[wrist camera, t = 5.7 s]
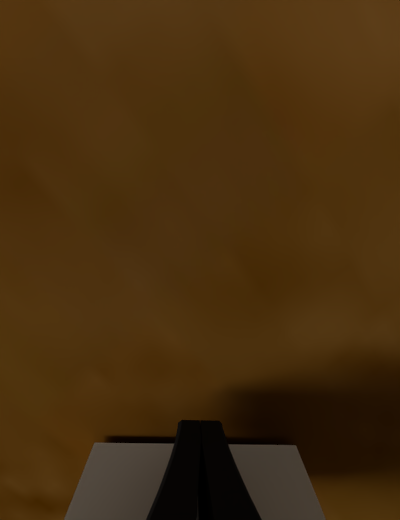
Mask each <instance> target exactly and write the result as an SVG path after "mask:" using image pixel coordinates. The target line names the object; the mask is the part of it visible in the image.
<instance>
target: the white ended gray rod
mask: <svg viewBox="0 0 400 520" xmlns="http://www.w3.org/2000/svg"><path fill="white" fill-rule="evenodd" d="M228 445H229V448H230V451H231V453H232V456H233V458H234V461H235V463H236V466H237V468H238V470H239V473H240V475H241V477H242V479H243V482H244V484H245V486H246V488H247V490H248V493H249V495H250V497H251V499H252V501H253V503H254V505H255V507H256V509H257V511H258V513H259V515H260V517H261V519H262V520H326V519H325V516H324V514H323V511H322V509H321V506H320V504H319V501H318V499H317V496H316V494H315V492H314V489H313V487H312V484H311V482H310V479H309V477H308V474H307V472H306V469H305V467H304V464H303V462H302V459H301V457H300V454H299V452H298V449H297V447H296V445H240V444H228ZM173 446H174V444H158V443H94V445H93V448H92V450H91V453H90V455H89V458H88V461H87V463H86V466H85V468H84V471H83V473H82V476H81V478H80V481H79V483H78V486H77V488H76V491H75V494H74V496H73V499H72V501H71V504H70V506H69V509H68V511H67V514H66V516H65V519H64V520H146V518H147V516H148V514H149V511H150V509H151V506H152V504H153V502H154V499H155V497H156V495H157V492H158V490H159V487H160V484H161V482H162V479H163V476H164V473H165V470H166V468H167V465H168V462H169V459H170V456H171V453H172V449H173ZM196 520H199V513H198V502H197V518H196Z"/></svg>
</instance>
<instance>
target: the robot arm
mask: <svg viewBox="0 0 400 520" xmlns="http://www.w3.org/2000/svg"><path fill="white" fill-rule="evenodd" d="M197 502H198V513H199V520H262V519H261V517H260V515H259V513H258V511H257V509H256V507H255V505H254V503H253V501H252V499H251V497H250V495H249V493H248V490H247V488H246V486H245V484H244V482H243V479H242V477H241V475H240V473H239V470H238V468H237V466H236V463H235V461H234V458H233V456H232V453H231V451H230V448H229V445H228V443H227V440H226V437H225V434H224V430H223V427H222V424H221V423H220V422H219V421H203V420H201V423H200V420H181V421H180V422H179V423H178V429H177V434H176V438H175V442H174V446H173V449H172V453H171V456H170V459H169V462H168V465H167V468H166V470H165V473H164V476H163V479H162V482H161V484H160V487H159V490H158V492H157V495H156V497H155V499H154V502H153V504H152V506H151V509H150V511H149V514H148V516H147V518H146V520H196V518H197Z"/></svg>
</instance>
